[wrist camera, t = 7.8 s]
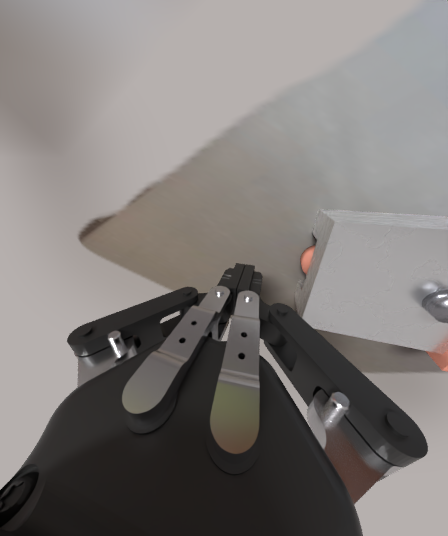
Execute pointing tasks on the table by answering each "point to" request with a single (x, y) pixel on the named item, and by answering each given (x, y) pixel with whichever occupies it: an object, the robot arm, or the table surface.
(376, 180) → the table surface
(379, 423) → the robot arm
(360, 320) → the metal block with knob
